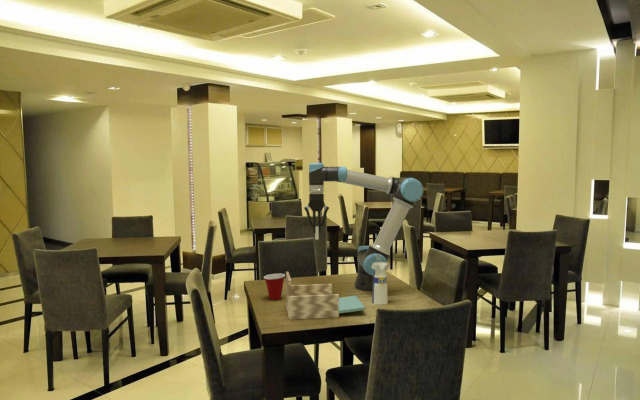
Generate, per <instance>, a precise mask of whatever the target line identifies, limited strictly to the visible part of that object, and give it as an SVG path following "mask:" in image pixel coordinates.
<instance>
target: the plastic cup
mask: <svg viewBox="0 0 640 400" xmlns="http://www.w3.org/2000/svg"><path fill="white" fill-rule="evenodd" d="M285 277H286V273H271V274H266V275H265V276H263V279H264V280H265V284H266V288H267V292H268V298H269V300H271V301H278V300H279V301H280V300H281V298H282V293H283V286H284V281H285Z"/></svg>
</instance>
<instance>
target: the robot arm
mask: <svg viewBox="0 0 640 400" xmlns="http://www.w3.org/2000/svg"><path fill="white" fill-rule="evenodd" d="M324 165H325V164H324V163H323V162H311V163H309V165H308V193H309V194H308V205H306V206H304V207H303V209H304V211H305V212H306V216H307V220H308V221H307V222H308V223H309V226H311V227H312V233H313V234H314V239H315V240H316V241H317V240H319V238H320V237H319V234H320V233H321V232H322V231H321V230H322V229H321V227H322V226H325V222H326V219H327V218H326V217H327V214H328V211H329V209H330V207H329V206H328V205H326V203H325V194H324V191H325V189H324V188H325V187H324V186H325V182H337V183H343V184H345V185H351V186H357V187H360V188H366V189H372V190H375V191H380V192H384V193H386V194H387V195H391V196H393V197H392V200H393V203H392V205H391V208H390V210H389V212H388V214H387V216H386V218H385V220H384V221H383V224H382V226H381V227H380V230H379V232H378V234H377V236H376V238H375V241H374V242H372V243H371V244H369V245H359V246H358V248H357V274H356V275H357V276H356V278H355V281H354V288H355V290H356V289H357V290H360V291H373V282H374V277H373V274H374V269H372V264H373V263H374V262H386V263H388V260H389V259H390V256H391V254H390V253H391V252H390V249H391V247H392V245H393V243H394V242H395V239H396V237H397V235H398V233H399V231H400V229H401V227H402V225H403V223H404V221H405V219H406V216H408V215H407V214H408V213H409V210H410V209H412V208H414V207H415V205H416V203H417V202H418V201H419V200H420V199H421V198H422V196H423V195H424V194H423V193H424V186H423V184H422V183H421V182H420V180H418V179H416V178H414V177H394V176H389V177H385V176H380V175H376V174H375V175H374V174H372V173H371V174H370V173H365V172H362V171H361V172H360V171H355V170H353V169H352V170H351V169H348V168H347V167H346V166H324ZM309 210H311V211H312V219H311V215H310V211H309ZM322 210H324V211H323V214H322V216H321V213H322ZM316 213H317V217H316ZM321 217H322V218H321ZM316 219H317V225H316ZM378 254H379V255H380V256H382V257H381V260H379V259H378V260H377V257H376V255H378Z"/></svg>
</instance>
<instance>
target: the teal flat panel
mask: <svg viewBox="0 0 640 400" xmlns="http://www.w3.org/2000/svg"><path fill="white" fill-rule="evenodd" d="M365 310H366V307H365V304H363V302H362V301H361V300H360V299H359V297H358V296H357V295H351V296H344V297H339V314H344V313H352V312H358V311H361V312H362V311H365Z"/></svg>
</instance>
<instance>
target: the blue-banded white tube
mask: <svg viewBox="0 0 640 400" xmlns="http://www.w3.org/2000/svg"><path fill="white" fill-rule="evenodd" d="M376 257H377V260H378V259H379V260H381V257H382V256H380V255H379V254H378V255H376ZM372 269H374V274H373V277H374V282H373V291H372V295H371V297H372V298H371V303H372V304H374V305H381V306H382V305H383V306H384V305H387V304H388V302H389V301H388V299H389V298H388V282H387V277H388V275H387V272H388V270H389V269H390V266H389V263H388V262H387V263H386V262H374V263H373V264H372Z"/></svg>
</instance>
